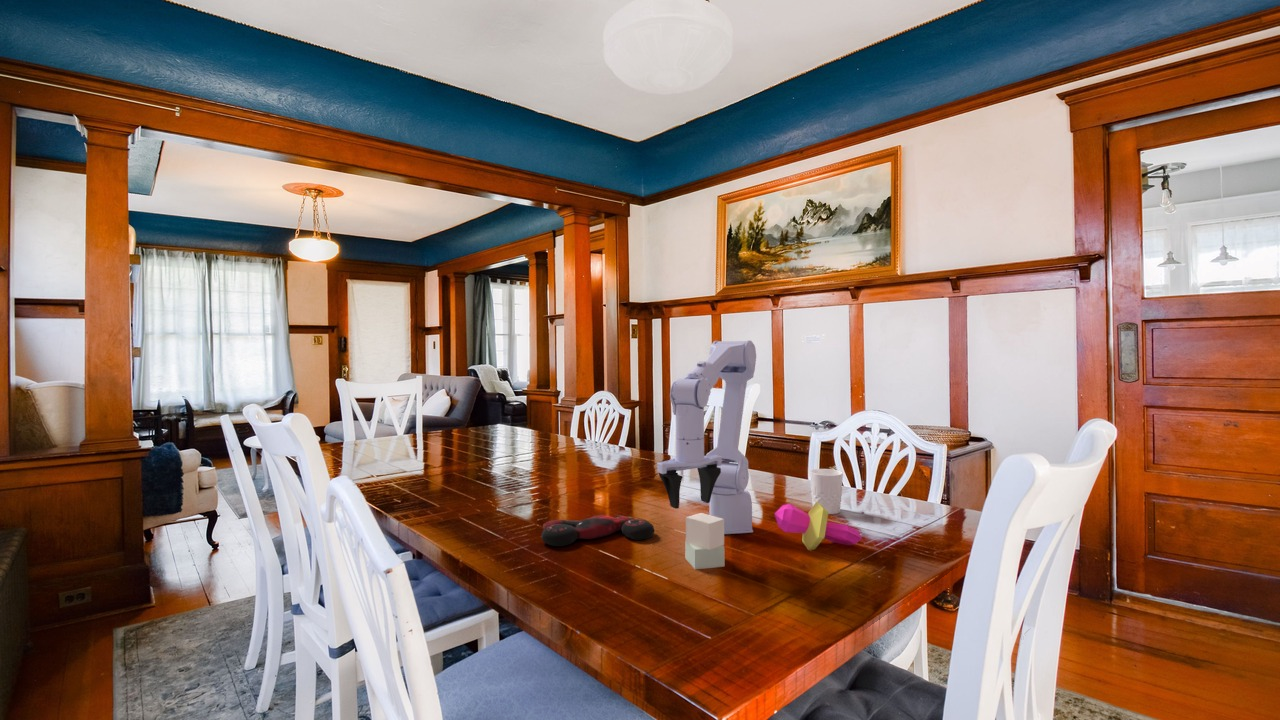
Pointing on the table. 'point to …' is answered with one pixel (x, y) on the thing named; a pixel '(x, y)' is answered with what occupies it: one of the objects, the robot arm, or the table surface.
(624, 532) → the toy motorcycle
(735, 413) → the robot arm
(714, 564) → the sage base brick
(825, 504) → the white cup
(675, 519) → the table surface
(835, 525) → the toy
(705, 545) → the cream brick
